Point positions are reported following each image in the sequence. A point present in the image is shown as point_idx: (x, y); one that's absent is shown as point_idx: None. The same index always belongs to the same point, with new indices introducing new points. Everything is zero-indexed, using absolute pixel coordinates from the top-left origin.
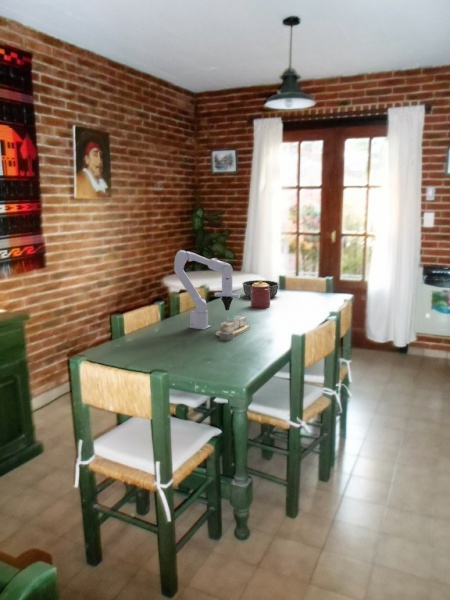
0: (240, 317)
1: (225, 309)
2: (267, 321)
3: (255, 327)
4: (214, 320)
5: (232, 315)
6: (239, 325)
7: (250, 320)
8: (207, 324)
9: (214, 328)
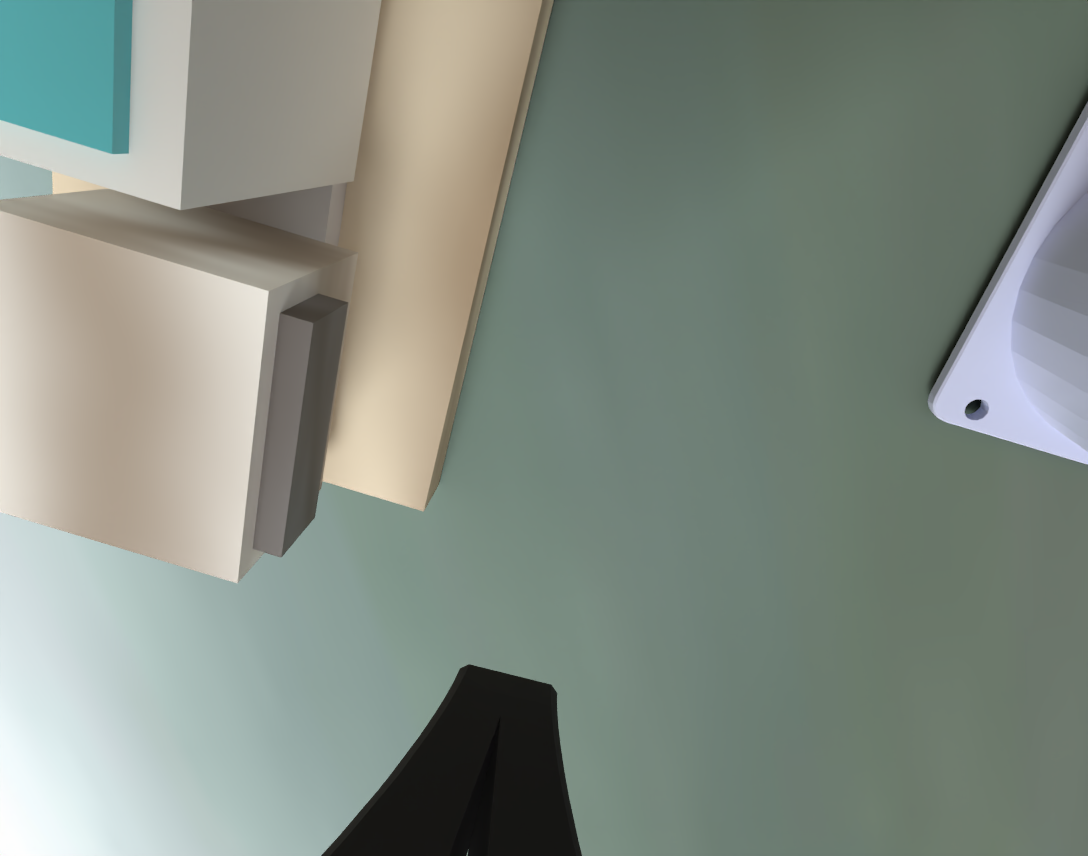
0: (91, 432)
1: (548, 703)
2: (52, 802)
3: None
4: (892, 814)
5: (72, 72)
6: None
7: (299, 836)
8: (1053, 299)
9: (823, 263)
